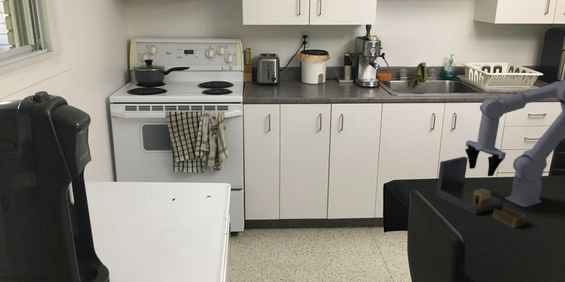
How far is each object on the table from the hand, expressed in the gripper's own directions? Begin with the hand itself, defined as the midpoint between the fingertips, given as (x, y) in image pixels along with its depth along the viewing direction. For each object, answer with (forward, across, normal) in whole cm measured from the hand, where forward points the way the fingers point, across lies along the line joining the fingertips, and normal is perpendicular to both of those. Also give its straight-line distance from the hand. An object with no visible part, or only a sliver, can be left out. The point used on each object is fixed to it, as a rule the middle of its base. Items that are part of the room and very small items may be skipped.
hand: (481, 171), depth 168 cm
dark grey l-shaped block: (+10, 0, -5) cm, 11 cm away
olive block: (+10, +5, -5) cm, 12 cm away
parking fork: (+10, +15, -5) cm, 19 cm away
